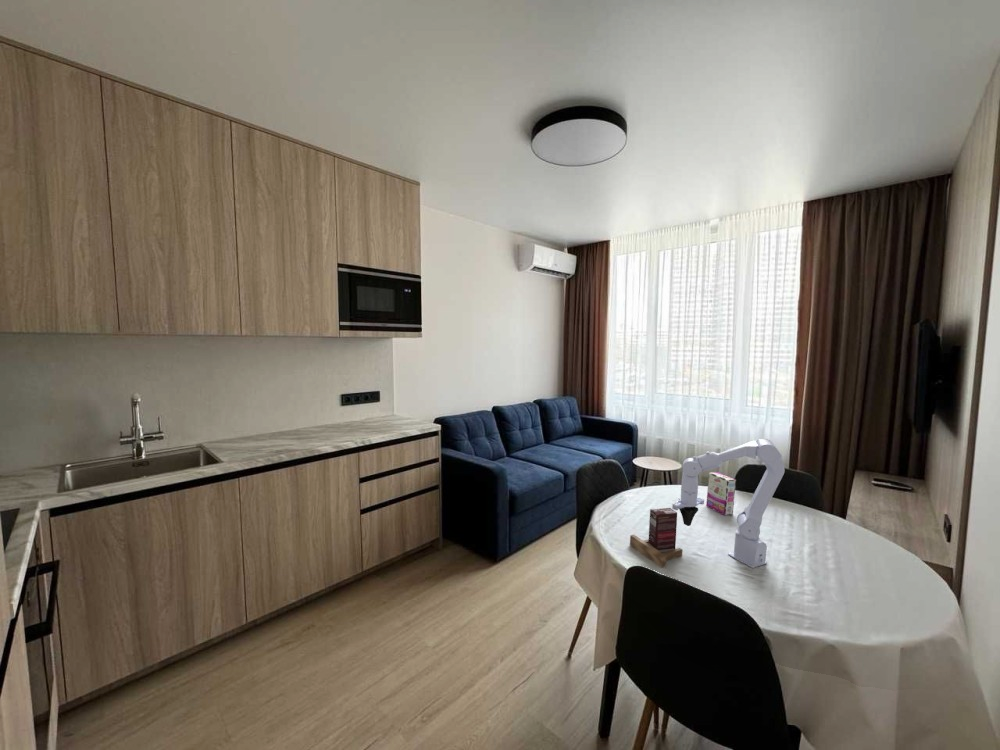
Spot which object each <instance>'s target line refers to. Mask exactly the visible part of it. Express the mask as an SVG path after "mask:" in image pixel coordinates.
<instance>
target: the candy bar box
mask: <svg viewBox="0 0 1000 750" xmlns="http://www.w3.org/2000/svg"><path fill="white" fill-rule="evenodd" d="M707 480H708V481H707V493H706V494H707V495H706V505H705V506H707V507H708V508H710V509H712V510H713V511H715V512H716V513H719V514H721V515H724V516H730V515H732V516H733V514H734V505H735V496H736V495H735V494H736V485H737V479H735V478H732V477H730V476H727V475H725V474H723V473H721V472H718V471H712V472H709V473H708V478H707Z"/></svg>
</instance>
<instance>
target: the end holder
mask: <svg viewBox="0 0 1000 750" xmlns="http://www.w3.org/2000/svg"><path fill="white" fill-rule="evenodd" d="M648 541H649V538H648V539H645V540H643V539H641V538H640V537H638V536H637V535H635V534H630V536H629V546H630V547H632V548H633V549H635V550H636V551H638V552H639V553H640V554H642V555H643V556H644V557H646V558H648V559H649V560H651V561H652V562H653V563H655V564H656V565H658V567H660V566H661V568H666V567H667V566H666V565H667V561H670V560H672V559H677V558H679V557H680V558H681V557H682V556H683V549H682V548H681V547H678V548H675V549H674V550H670V551H667V552H663V553H661V552H660V551H658V550H657V549H655V548H654V547H652V546H651V545H649V544H648Z"/></svg>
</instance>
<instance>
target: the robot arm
mask: <svg viewBox="0 0 1000 750" xmlns="http://www.w3.org/2000/svg"><path fill="white" fill-rule="evenodd" d="M744 457H747V458H751V459H754V460H756V459H757V458H758V459H759V460H760V461H761V462H763V464H764V465H765V467H766V470H765V471H764V473H763V475H762V478H761V479H760V482H759V483H758V486H757V488H756V489H755V491H754V492H753V494H752V495H753V496H752V498H751V499H750V502H749V504H748V505H747V506H746V507H745V508H744V509H743V511H742V512H740V513H738V515H737V516H736V523H737V524H738V527H737V529H736V530H735V538H734V547H733V551H732V552H731V551H730V552H728V553H727V555H728V556H730V557H731V558H733V559H735V560H737V561H739V562H740V563H742V564H744V565H745V566H748V567H749V568H752V569H753V568H756V567H759V566H763V565H765V564H767V561H766V560H767V559H766V557H767V547H768V546H767V543H765V542H764V541H763V540H761V538H760V534H761V529H760V528H761V525H762V523H763V522H762V521H763V515H764V514H765V512H766V510H767V508H768V506H769V504H770V502H771V500H772V498H773V496H774V494H775V492H776V490H777V488H778V486H779V484H780V482H781V480H782V479H783V476H784V474H785V472H786V470H785V466H784V461H783V456H782V454H781V452H780V451H779V450H778V448H777V447H776V445H775V444H774V443H773V442H772V441H771V440H770V439H768V438H759V439H757V440H752V441H751V440H750V441H748V442H746V443H744V444H741V445H738V446H736V447H735V446H734V447H731V448H729V449H727V450H724V451H722V452H715V451H711V452H710V451H709V450H708V451H705V453H704V454H701V455H697V456H694V455H693V456H692V457H688V458H686V459H684V461H683V462H682V463H681V464H682V473H681V474H682V477H681V487H680V497H678V500H677V501H676V502H674V503H672V506H671V507H672V508H671V509H672V510H674V511H678V510H679V511H680V512H679V513H680V514H681V517H682V521H683V525H685V526H687V527H689V526H691V525H692V523H693V521H694V517H695V516H696V514H697V513H698V511H699V507H698V505H702V506H703V505H705V499H704V498H701V497H698V495H699V494H698V492H699V490H698V489H699V474H700V473H704V472H708V471H710V470H713V469H717V468H719V467H721V466H722V464H723V462H724V463H725V462H728V461H733V460H737V459H740V458H744Z"/></svg>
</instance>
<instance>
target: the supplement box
mask: <svg viewBox="0 0 1000 750" xmlns="http://www.w3.org/2000/svg"><path fill="white" fill-rule="evenodd" d="M677 521H678V512H677V511H676V510H674V509H672V508H671V507H666V508H665V507H664V508H652V509H650V510H649V524H648V525H649V526H648V527H649V528H648V539H649V541H648V544H649V545H651V546H652V547H654V548H655V549H657V550H658V551H660V552H661V553H663V552H667V551H670V550H674V549H676V541H677V528H678V527H677V525H678V524H677V523H678V522H677Z"/></svg>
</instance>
